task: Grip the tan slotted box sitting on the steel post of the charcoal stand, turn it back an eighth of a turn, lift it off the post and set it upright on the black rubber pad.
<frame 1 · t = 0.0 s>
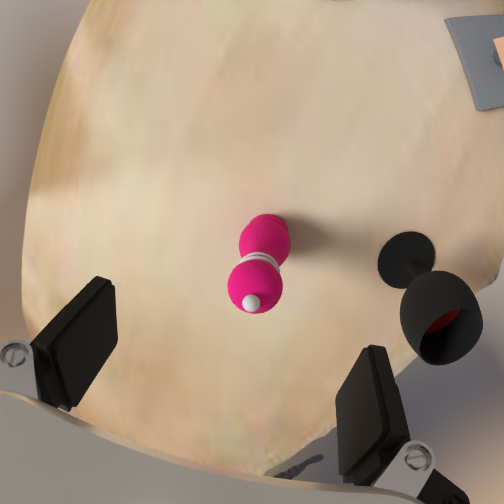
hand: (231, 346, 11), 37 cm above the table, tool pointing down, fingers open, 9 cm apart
stand: (494, 59, 31), on the table
wine glass: (406, 260, 48), on the table
pepper mill: (267, 232, 49), on the table
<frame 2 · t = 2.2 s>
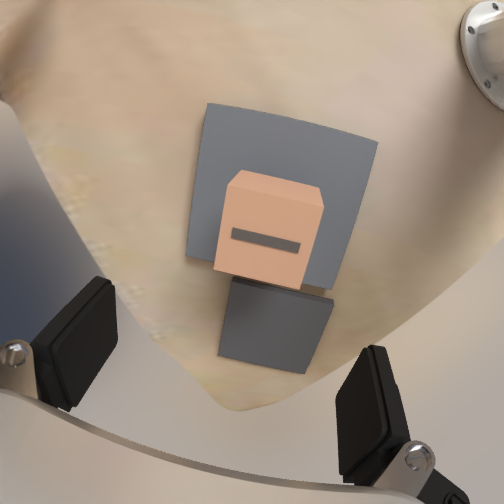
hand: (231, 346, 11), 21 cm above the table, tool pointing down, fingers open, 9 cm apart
stand: (276, 196, 30), on the table
tan slotted box: (271, 214, 25), point 5 cm above the table, touching post
pad: (272, 327, 36), on the table
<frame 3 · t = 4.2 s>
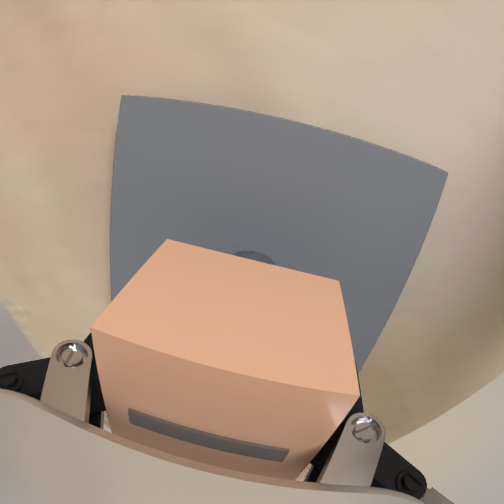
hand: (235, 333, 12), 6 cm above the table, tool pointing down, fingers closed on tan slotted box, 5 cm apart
stand: (253, 264, 17), on the table
tan slotted box: (236, 328, 12), point 5 cm above the table, touching gripper, post
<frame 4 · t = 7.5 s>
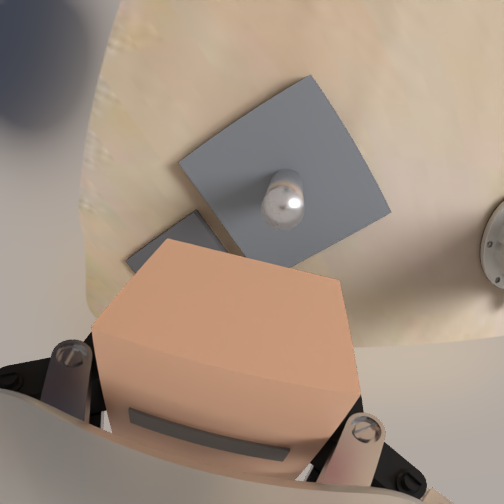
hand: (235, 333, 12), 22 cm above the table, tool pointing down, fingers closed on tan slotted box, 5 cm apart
post: (284, 195, 26), on the stand, point 6 cm above the table
stand: (286, 181, 31), on the table
tan slotted box: (236, 327, 12), point 21 cm above the table, touching gripper
pad: (189, 273, 37), on the table
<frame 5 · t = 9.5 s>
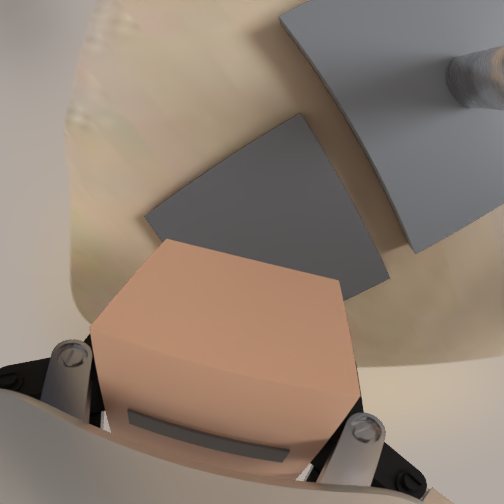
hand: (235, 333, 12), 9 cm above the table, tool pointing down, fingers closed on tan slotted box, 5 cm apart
stand: (456, 82, 14), on the table
tan slotted box: (236, 328, 12), point 9 cm above the table, touching gripper
pad: (269, 240, 19), on the table
when the fingers open (3 cm above the table, at t = 11.1 s): tan slotted box drops 2 cm, resting on pad.
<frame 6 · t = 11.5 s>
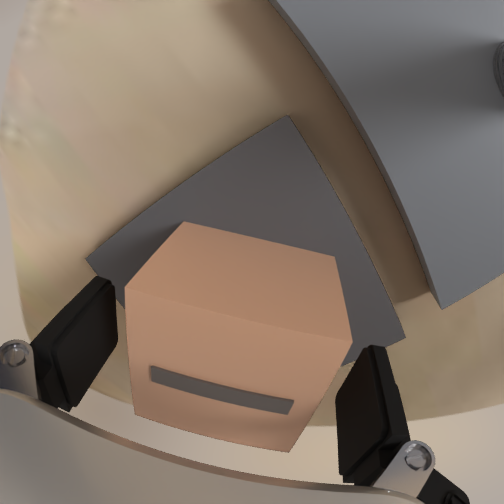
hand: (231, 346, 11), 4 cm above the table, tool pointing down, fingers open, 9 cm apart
stand: (500, 77, 9), on the table
tan slotted box: (244, 302, 14), point 1 cm above the table, touching pad
pad: (246, 290, 14), on the table
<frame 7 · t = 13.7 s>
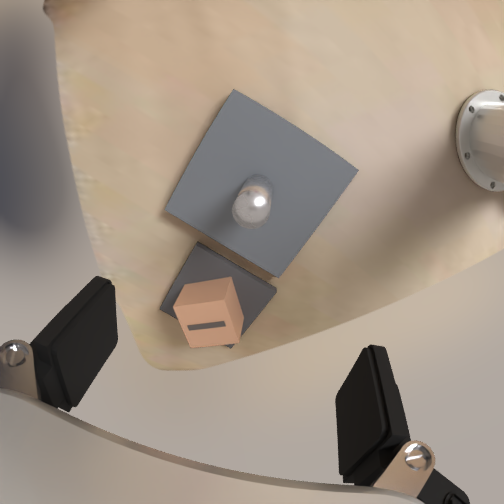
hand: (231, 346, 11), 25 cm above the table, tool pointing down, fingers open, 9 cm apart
post: (254, 198, 29), on the stand, point 6 cm above the table
stand: (259, 185, 34), on the table
tan slotted box: (214, 301, 39), point 1 cm above the table, touching pad
pad: (215, 297, 40), on the table
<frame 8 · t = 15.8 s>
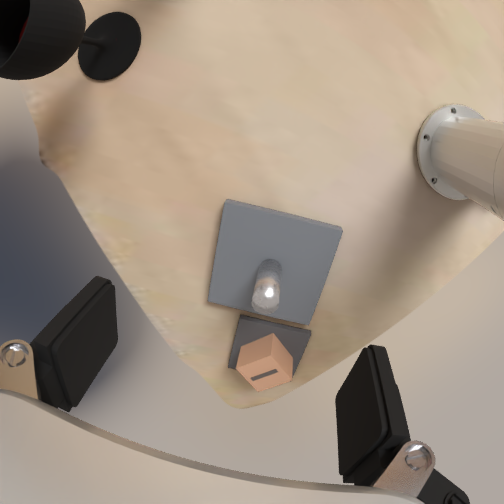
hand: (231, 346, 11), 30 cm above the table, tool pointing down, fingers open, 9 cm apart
post: (268, 284, 38), on the stand, point 6 cm above the table
stand: (271, 264, 43), on the table
tan slotted box: (267, 352, 49), point 1 cm above the table, touching pad
wine glass: (109, 45, 33), on the table
pad: (267, 348, 50), on the table
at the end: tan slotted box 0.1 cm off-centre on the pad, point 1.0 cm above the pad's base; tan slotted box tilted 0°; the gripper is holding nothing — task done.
